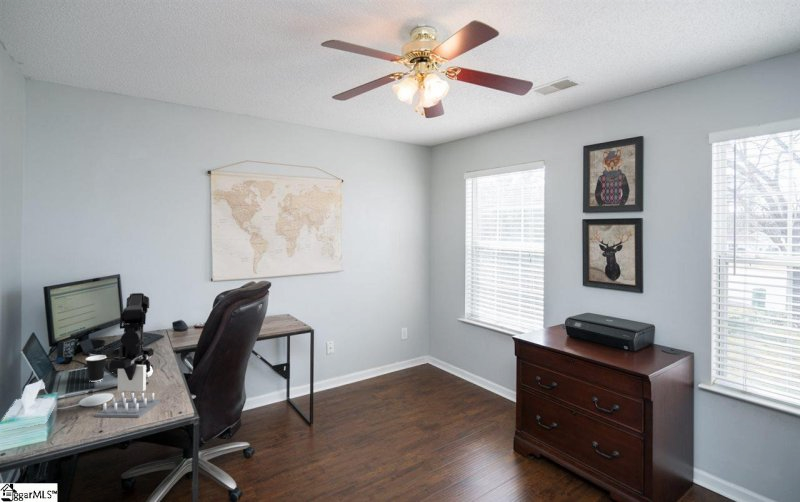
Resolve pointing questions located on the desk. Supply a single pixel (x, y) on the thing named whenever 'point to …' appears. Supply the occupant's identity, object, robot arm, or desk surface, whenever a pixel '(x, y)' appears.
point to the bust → (149, 372)
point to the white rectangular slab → (136, 383)
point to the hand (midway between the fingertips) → (132, 379)
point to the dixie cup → (96, 367)
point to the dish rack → (128, 407)
